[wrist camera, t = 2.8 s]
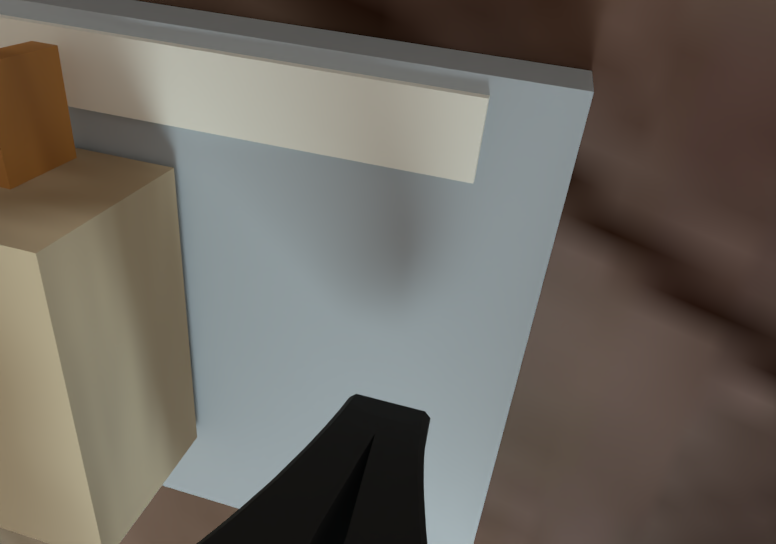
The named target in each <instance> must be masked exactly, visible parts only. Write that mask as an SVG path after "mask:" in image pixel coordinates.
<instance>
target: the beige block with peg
mask: <svg viewBox="0 0 776 544" xmlns="http://www.w3.org/2000/svg"><path fill="white" fill-rule="evenodd" d="M196 438H197V429H196V418H195V406H194V394H193V383H192V371H191V360H190V348H189V337H188V325H187V313H186V302H185V290H184V279H183V267H182V256H181V244H180V233H179V221H178V209H177V198H176V186H175V175H174V168H173V167H168V166H163V165H158V164H153V163H148V162H143V161H138V160H133V159H128V158H123V157H119V156H114V155H109V154H104V153H99V152H94V151H89V150H84V149H79V148H75V145H74V139H73V133H72V127H71V121H70V115H69V109H68V104H67V98H66V92H65V86H64V80H63V74H62V69H61V63H60V57H59V51H58V45H53V44H47V43H41V42H36V41H29V42H25V43H20V44H16V45H11V46H7V47H3V48H0V528H3V529H6V530H9V531H12V532H15V533H18V534H21V535H24V536H27V537H30V538H33V539H36V540H39V541H42V542H45V543H48V544H119V543H120V542H121V541H122V539H123V538H124V537H125V535H126V534H127V533H128V531H129V530H130V528H131V527H132V526H133V524H134V523H135V522H136V520H137V519H138V518H139V516H140V515H141V513H142V512H143V511H144V509H145V508H146V507H147V505H148V504H149V502H150V501H151V500H152V498H153V497H154V496H155V494H156V493H157V492H158V490H159V489H160V487H161V486H162V485H163V483H164V482H165V481H166V479H167V478H168V477H169V475H170V474H171V472H172V471H173V470H174V468H175V467H176V466H177V464H178V463H179V461H180V460H181V459H182V457H183V456H184V455H185V453H186V452H187V451H188V449H189V448H190V446H191V445H192V444H193V442H194V441H195V440H196Z"/></svg>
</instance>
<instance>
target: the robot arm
mask: <svg viewBox="0 0 776 544" xmlns="http://www.w3.org/2000/svg"><path fill="white" fill-rule="evenodd" d="M429 424H430V417H429V416H428V414H427V413H426V412H425V411H422V410H418V409H414V408H410V407H406V406H402V405H398V404H395V403H391V402H387V401H383V400H379V399H375V398H371V397H367V396H363V395H359V394H355V395H353V396H351V397H349V398H348V400H347V401H346V402H345V403H344V405H343V406H342V407H341V408H340V409H339V411H338V412H337V413H336V414H335V415H334V417H333V418H332V419H331V420H330V421H329V422H328V423H327V425H326V426H325V427H324V428H323V429H322V430H321V431H320V432H319V433H318V434H317V435H316V436H315V437H314V439H313V440H312V441H311V442H310V443H309V444H308V445H307V446H306V447H305V448H304V449H303V450H302V451H301V452H300V453H299V454H298V455H297V456H296V457H295V458H294V459H293V460H292V461H291V462H290V463H289V464H288V465H287V466H286V467H285V468H284V469H283V470H282V471H281V472H280V473H279V474H278V475H277V476H276V477H274V478H273V479H272V480H271V481H270V482H269V483H268V484H267V485H266V486H265V487H264V488H262V489H261V490H260V491H259V492H258V493H257V494H256V495H254V496H253V497H252V498H251V499H250V500H249V501H248V502H247V503H245V504H244V505H243V506H242V507H241V508H240V509H239V510H237V511H236V512H235V513H234V514H233V515H232V516H231V517H229V518H228V519H227V520H226V521H224V522H223V523H222V524H221V525H220V526H218V527H217V528H216V529H215V530H213V531H212V532H211V533H210V534H208V535H207V536H206V537H205V538H203V539H202V540H201V541H199V542H198V543H197V544H428V543H427V533H426V518H425V502H424V455H425V446H426V441H427V435H428V429H429Z"/></svg>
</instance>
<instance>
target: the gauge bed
mask: <svg viewBox="0 0 776 544" xmlns="http://www.w3.org/2000/svg"><path fill="white" fill-rule="evenodd" d="M29 41H36V42H41V43H47V44H53V45H58V51H59V57H60V63H61V69H62V74H63V80H64V86H65V92H66V98H67V104H68V109H69V115H70V121H71V127H72V133H73V139H74V145H75V148H79V149H84V150H89V151H94V152H99V153H104V154H109V155H114V156H119V157H123V158H128V159H133V160H138V161H143V162H148V163H153V164H158V165H163V166H168V167H173V168H174V175H175V186H176V198H177V209H178V221H179V233H180V244H181V256H182V267H183V279H184V290H185V302H186V313H187V325H188V337H189V348H190V360H191V371H192V383H193V394H194V406H195V418H196V429H197V438H196V440H195V441H194V442H193V444H192V445H191V446H190V448H189V449H188V451H187V452H186V453H185V455H184V456H183V457H182V459H181V460H180V461H179V463H178V464H177V466H176V467H175V468H174V470H173V471H172V472H171V474H170V475H169V477H168V478H167V479H166V481H165V482H164V483H163V486H166V487H169V488H172V489H176V490H179V491H182V492H186V493H189V494H192V495H196V496H199V497H202V498H206V499H209V500H212V501H215V502H219V503H222V504H225V505H229V506H232V507H235V508H239V509H240V508H241V507H242V506H243V505H244V504H245V503H247V502H248V501H249V500H250V499H251V498H252V497H253V496H254V495H256V494H257V493H258V492H259V491H260V490H261V489H262V488H264V487H265V486H266V485H267V484H268V483H269V482H270V481H271V480H272V479H273V478H274V477H276V476H277V475H278V474H279V473H280V472H281V471H282V470H283V469H284V468H285V467H286V466H287V465H288V464H289V463H290V462H291V461H292V460H293V459H294V458H295V457H296V456H297V455H298V454H299V453H300V452H301V451H302V450H303V449H304V448H305V447H306V446H307V445H308V444H309V443H310V442H311V441H312V440H313V439H314V437H315V436H316V435H317V434H318V433H319V432H320V431H321V430H322V429H323V428H324V427H325V426H326V425H327V423H328V422H329V421H330V420H331V419H332V418H333V417H334V415H335V414H336V413H337V412H338V411H339V409H340V408H341V407H342V406H343V405H344V403H345V402H346V401H347V400H348V398H349V397H351V396H353V395H355V394H359V395H363V396H367V397H371V398H375V399H379V400H383V401H387V402H391V403H395V404H398V405H402V406H406V407H410V408H414V409H418V410H422V411H425V412H426V413H427V414H428V416H429V417H430V424H429V429H428V435H427V441H426V446H425V455H424V502H425V518H426V533H427V543H428V544H473V543H474V539H475V535H476V532H477V528H478V524H479V520H480V517H481V513H482V509H483V505H484V502H485V498H486V494H487V490H488V487H489V483H490V479H491V475H492V472H493V468H494V464H495V460H496V457H497V453H498V449H499V445H500V442H501V438H502V434H503V431H504V427H505V423H506V419H507V416H508V412H509V408H510V404H511V401H512V397H513V393H514V389H515V386H516V382H517V378H518V374H519V371H520V367H521V363H522V359H523V356H524V352H525V348H526V344H527V341H528V337H529V333H530V329H531V326H532V322H533V318H534V314H535V311H536V307H537V303H538V299H539V296H540V292H541V288H542V285H543V281H544V277H545V273H546V270H547V266H548V262H549V258H550V255H551V251H552V247H553V243H554V240H555V236H556V232H557V228H558V225H559V221H560V217H561V213H562V210H563V206H564V202H565V198H566V195H567V191H568V187H569V183H570V180H571V176H572V172H573V168H574V165H575V161H576V157H577V153H578V150H579V146H580V142H581V138H582V135H583V131H584V127H585V124H586V120H587V116H588V112H589V109H590V105H591V101H592V97H593V94H594V87H593V77H592V71H589V70H583V69H576V68H570V67H563V66H557V65H550V64H544V63H537V62H531V61H524V60H518V59H511V58H505V57H498V56H492V55H485V54H479V53H472V52H466V51H460V50H453V49H447V48H440V47H434V46H427V45H421V44H414V43H408V42H401V41H395V40H388V39H382V38H375V37H369V36H362V35H356V34H349V33H343V32H337V31H330V30H324V29H317V28H311V27H304V26H298V25H291V24H285V23H278V22H272V21H265V20H259V19H252V18H246V17H239V16H233V15H226V14H220V13H214V12H207V11H201V10H194V9H188V8H181V7H175V6H168V5H162V4H155V3H149V2H142V1H136V0H0V48H3V47H7V46H11V45H16V44H20V43H25V42H29Z"/></svg>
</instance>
